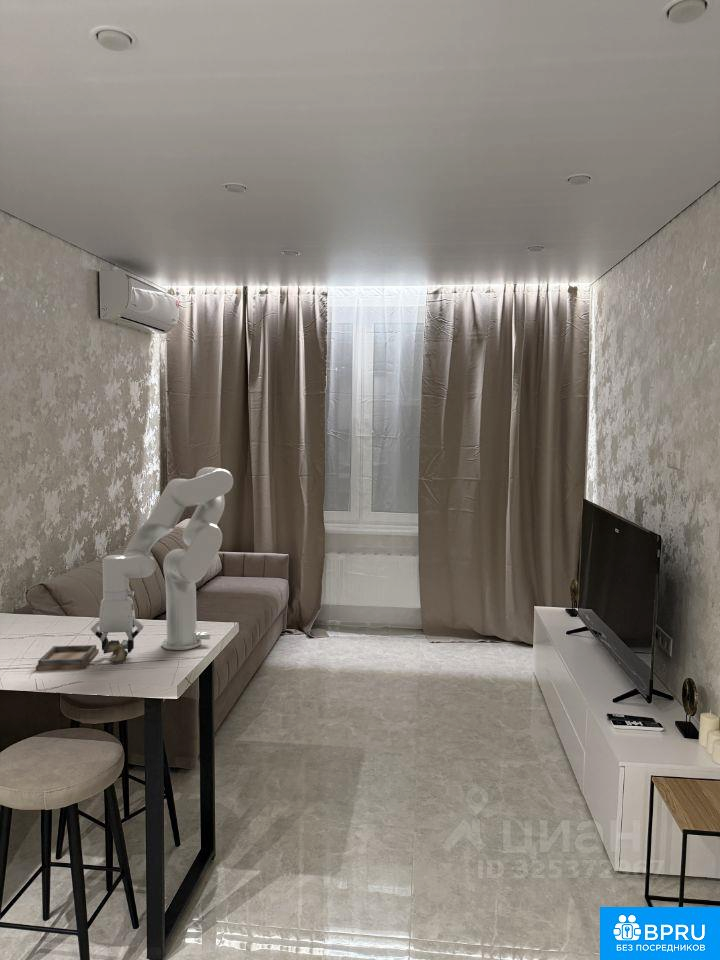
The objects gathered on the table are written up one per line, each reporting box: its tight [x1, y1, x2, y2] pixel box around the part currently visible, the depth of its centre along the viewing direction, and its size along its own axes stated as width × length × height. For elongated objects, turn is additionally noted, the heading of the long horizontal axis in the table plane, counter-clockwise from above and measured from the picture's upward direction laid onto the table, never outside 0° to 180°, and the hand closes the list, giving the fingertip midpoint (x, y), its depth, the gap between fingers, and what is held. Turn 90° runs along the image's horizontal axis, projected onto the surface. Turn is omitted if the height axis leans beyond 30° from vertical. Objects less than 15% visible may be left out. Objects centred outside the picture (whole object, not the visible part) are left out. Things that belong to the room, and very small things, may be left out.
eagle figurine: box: [103, 639, 129, 665], centre depth 220 cm, size 8×7×9 cm
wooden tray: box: [35, 644, 100, 671], centre depth 218 cm, size 14×15×3 cm
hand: (117, 651), depth 222 cm, fingers closed on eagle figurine, 6 cm apart
